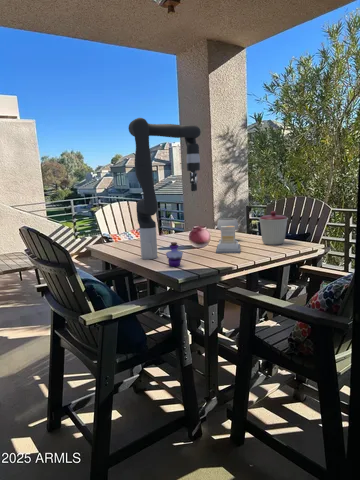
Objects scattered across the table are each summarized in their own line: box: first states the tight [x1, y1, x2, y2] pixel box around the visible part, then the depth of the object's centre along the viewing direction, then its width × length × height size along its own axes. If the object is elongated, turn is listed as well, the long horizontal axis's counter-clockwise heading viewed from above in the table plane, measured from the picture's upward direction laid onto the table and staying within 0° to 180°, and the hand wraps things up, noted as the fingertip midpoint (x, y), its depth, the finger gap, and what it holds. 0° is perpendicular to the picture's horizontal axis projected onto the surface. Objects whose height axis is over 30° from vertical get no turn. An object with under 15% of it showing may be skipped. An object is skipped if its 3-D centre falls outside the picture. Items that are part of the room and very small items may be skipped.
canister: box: [258, 210, 289, 246], centre depth 222 cm, size 18×18×21 cm
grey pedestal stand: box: [215, 240, 241, 254], centre depth 211 cm, size 22×14×4 cm, turn 171°
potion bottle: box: [165, 241, 183, 268], centre depth 176 cm, size 9×9×12 cm
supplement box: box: [220, 226, 236, 244], centre depth 210 cm, size 8×5×13 cm, turn 77°
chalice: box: [217, 217, 239, 242], centre depth 239 cm, size 14×14×15 cm
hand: (194, 190), depth 203 cm, fingers open, 8 cm apart
